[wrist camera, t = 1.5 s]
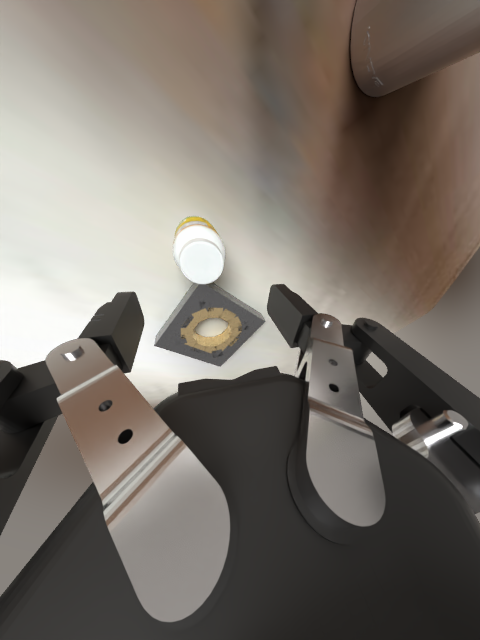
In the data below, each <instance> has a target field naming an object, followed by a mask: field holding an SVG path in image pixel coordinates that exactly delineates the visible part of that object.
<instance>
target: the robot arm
mask: <svg viewBox="0 0 480 640" xmlns="http://www.w3.org/2000/svg"><path fill="white" fill-rule="evenodd" d="M350 48H351V64H352V69H353V74H354V77H355V80H356V82H357V84H358V86H359V88H360V89H361V90H362V91H363V93H365V94H367V95H369V96H371V97H380V96H383V95H386V94H388V93H390V92H393V91H395V90H397V89H399V88H401V87H404V86H406V85H408V84H410V83H413V82H415V81H417V80H419V79H422V78H424V77H426V76H429V75H431V74H433V73H435V72H437V71H439V70H442V69H444V68H446V67H448V66H450V65H453V64H455V63H457V62H459V61H461V60H464V59H466V58H468V57H470V56H472V55H475V54H477V53H479V52H480V0H357V2H356V6H355V11H354V17H353V23H352V31H351V46H350ZM267 311H268V314H269V316H270V317H271V319H272V320H273V322H274V323H275V325H276V326H277V328H278V329H279V331H280V332H281V334H282V335H283V337H284V338H285V340H286V341H287V343H288V344H289V346H290V347H291V348H295V347H299V348H300V350H299V353H298V358H297V364H296V369H295V375H294V376H292V375H288V374H283V373H280V372H279V370H278V368H277V366H274V367H269V368H263V369H257V370H254V371H251V372H249V373H247V374H245V375H243V376H240V377H238V378H236V379H233V380H220V379H201V380H196V381H190V382H185V383H179V384H178V392H177V393H175V394H173V395H171V396H169V397H168V398H166V399H165V400H163V401H162V402H160V403H159V404H158V405H157V406H156V407H154V408H152V407H151V406H150V404H149V403H148V402H147V401H146V400H145V398H144V397H143V396H142V395H141V394H140V392H139V391H138V390H137V389H136V388H135V386H134V385H133V384H132V383H131V382H130V380H129V379H128V378H127V377H126V376H125V374H124V373H129V372H131V369H132V366H133V362H134V359H135V355H136V352H137V348H138V345H139V342H140V338H141V335H142V331H143V328H144V316H143V313H142V310H141V307H140V304H139V301H138V298H137V295H136V293H135V292H119V293H117V294H116V295H115V297H114V299H113V300H112V302H107V303H106V304H104V305H103V306H102V307H100V308H99V309H98V310H97V312H96V313H95V316H93V317H92V319H91V321H90V322H89V323H88V325H87V326H86V327H85V329H84V330H83V332H82V333H81V335H80V336H79V337H78V339H74V340H71V341H68V342H65V343H63V344H61V345H59V346H58V347H56V348H55V349H53V350H52V351H51V352H50V353H49V354H48V355H47V357H46V360H45V361H41V362H38V363H35V364H31V365H28V366H25V367H21V368H18V369H17V368H16V367H15V366H13V365H12V364H11V363H10V362H8V361H4V360H0V535H1V533H2V531H3V529H4V527H5V525H6V523H7V521H8V519H9V516H10V514H11V512H12V510H13V508H14V506H15V504H16V502H17V500H18V498H19V496H20V494H21V491H22V490H23V488H24V486H25V483H26V481H27V479H28V477H29V475H30V473H31V471H32V469H33V467H34V465H35V463H36V461H37V459H38V457H39V455H40V452H41V450H42V448H43V446H44V444H45V442H46V440H47V438H48V436H49V434H50V432H51V430H52V427H53V425H54V424H55V421H56V419H57V417H58V415H60V414H63V415H64V417H65V419H66V422H67V424H68V426H69V428H70V431H71V433H72V435H73V437H74V440H75V442H76V444H77V446H78V448H79V451H80V453H81V455H82V457H83V460H84V462H85V464H86V466H87V468H88V470H89V473H90V475H91V477H92V479H93V483H92V484H91V485H90V486H89V488H88V489H87V490H86V491H85V492H84V494H83V495H82V496H81V497H80V499H79V500H78V501H77V502H76V504H75V505H74V506H73V507H72V509H71V510H70V511H69V512H68V514H67V515H66V516H65V517H64V518H63V520H62V521H61V522H60V523H59V525H58V526H57V527H56V528H55V530H54V531H53V532H52V533H51V535H50V536H49V537H48V538H47V540H46V541H45V542H44V543H43V544H42V546H41V547H40V548H39V549H38V551H37V552H36V553H35V554H34V556H33V557H32V558H31V559H30V561H29V562H28V563H27V564H26V566H25V567H24V568H23V569H22V570H21V572H20V573H19V574H18V575H17V577H16V578H15V579H14V580H13V582H12V583H11V584H10V585H9V587H8V588H7V589H6V590H5V592H4V593H3V594H2V595H1V597H0V640H480V523H479V521H478V519H477V517H476V516H475V514H476V513H479V512H480V398H479V397H477V396H476V395H474V394H473V393H472V392H471V391H469V390H468V389H466V388H465V387H464V386H462V385H461V384H460V383H458V382H457V381H456V380H454V379H453V378H452V377H450V376H449V375H448V374H446V373H445V372H444V371H442V370H441V369H440V368H438V367H437V366H436V365H434V364H433V363H432V362H430V361H429V360H428V359H426V358H425V357H424V356H422V355H421V354H420V353H418V352H417V351H416V350H414V349H413V348H411V347H410V346H409V345H407V344H406V343H405V342H404V341H402V340H401V339H400V338H398V337H396V336H395V335H394V334H393V333H392V332H390V331H389V330H388V329H386V328H385V327H384V326H382V325H381V324H379V323H378V322H376V321H373V320H370V319H367V318H358V319H356V320H355V322H354V324H353V325H343V324H341V323H340V321H339V320H338V319H336V318H335V317H333V316H331V315H328V314H322V313H319V314H318V313H317V312H316V311H315V310H314V309H313V308H312V307H311V306H310V305H309V304H307V303H306V302H305V301H304V300H303V299H302V298H301V297H300V296H299V295H298V294H296V293H294V292H292V291H291V290H290V289H289V288H288V287H287V286H286V285H284V284H276V285H272V286H271V288H270V293H269V299H268V304H267ZM371 352H373V353H374V354H375V355H377V357H379V358H380V359H381V360H382V361H383V362H384V363H385V365H386V366H387V369H388V372H387V374H386V375H385V376H384V377H382V376H381V375H380V374H379V373H378V372H377V371H376V370H375V369H374V368H373V367H372V366H371V365H370V364H369V363H368V362H367V361H366V358H367V357H368V356H369V354H370V353H371ZM359 392H360V393H361V394H362V395H363V397H364V398H365V399H366V400H367V402H368V403H369V404H370V405H371V407H372V408H373V409H374V410H375V412H376V413H377V414H378V416H379V417H380V418H381V419H382V421H383V422H384V423H385V424H386V426H387V427H388V428H389V429H390V431H391V432H392V433H393V435H394V436H392V435H390V434H389V433H387V432H386V431H384V430H382V429H381V428H379V427H378V426H376V425H374V424H373V423H371V422H369V421H368V420H366V419H365V418H363V413H362V407H361V400H360V394H359Z"/></svg>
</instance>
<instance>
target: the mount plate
mask: <svg viewBox="0 0 480 640" xmlns="http://www.w3.org/2000/svg"><path fill="white" fill-rule="evenodd" d="M208 318H221V319H223V320H225V321H227V322H228V327H227V329H226V330H225V331H224V332H223V333H222V334H220V335H218V336H215V337H203V336H201V335H198V334H197V333H196V332H195V331H194V328H195V327H196V326H197V324H198V323H199V322H201V321H203V320H205V319H208ZM264 322H265V320H264V318H263V316H262V315H261V313H259V312H257V311H256V310H254V309H253V308H251V307H250V306H248V305H246V304H245V303H243V302H242V301H240V300H239V299H237V298H235V297H234V296H232V295H231V294H229V293H228V292H226V291H224V290H223V289H221V288H220V287H218V286H217V285H215V284H213V283H212V282H211V283H208V284H197V283H193V285H192V286H191V287H190V289H189V290H188V292H187V293H186V294H185V296H184V297H183V299H182V300H181V302H180V303H179V304H178V306H177V307H176V309H175V310H174V311H173V313H172V314H171V316H170V317H169V318H168V320H167V321H166V323H165V324H164V325H163V327H162V328H161V330H160V331H159V332H158V334H157V335H156V339H155V344H154V346H157V347H160V348H163V349H166V350H170V351H173V352H176V353H179V354H182V355H185V356H189V357H192V358H195V359H198V360H201V361H204V362H208V363H211V364H214V365H217V366H221V365H222V364H223V363H224V362H225V361H226V360H227V359H228V358H229V357H230V356H231V355H232V354H233V353H234V352H235V351H236V350H237V349H238V348H239V347H240V346H241V345H242V344H243V343H244V342H245V341H246V340H247V339H248V338H249V337H250V336H251V335H252V334H253V333H254V332H255V331H256V330H257V329H258V328H259V327H260V326H261V325H262V324H263V323H264Z"/></svg>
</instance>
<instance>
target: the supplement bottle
mask: <svg viewBox="0 0 480 640" xmlns="http://www.w3.org/2000/svg"><path fill="white" fill-rule="evenodd" d="M173 256H174V260H175V262H176V264H177V266H178V267H179V268H180V269H181V271H182V273H183V274H184V275H185V277H186V278H187V279H189V280H190V281H192V282H194V283H197V284H208V283H211V282H213V281H215V280H216V279H218V278H219V276H220V275H221V273H222V271H223V268H224V262H225V256H226V253H225V247H224V244H223V241H222V240H221V238H220V236H219V235H218V233H217V232H216V230H215V229H214V227H213V226H212V225H211V224H210V223H209V222H208V221H207V220H206V219H204V218H202V217H199V216H190V217H187V218H185V219H183V220H182V221H181V222H180V223H179V224H178V226H177V229H176V232H175V238H174V243H173Z"/></svg>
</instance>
